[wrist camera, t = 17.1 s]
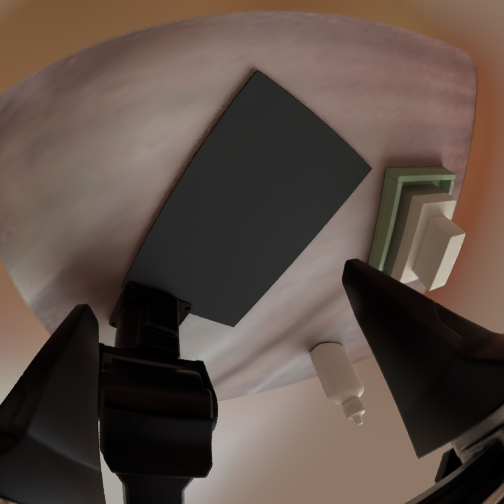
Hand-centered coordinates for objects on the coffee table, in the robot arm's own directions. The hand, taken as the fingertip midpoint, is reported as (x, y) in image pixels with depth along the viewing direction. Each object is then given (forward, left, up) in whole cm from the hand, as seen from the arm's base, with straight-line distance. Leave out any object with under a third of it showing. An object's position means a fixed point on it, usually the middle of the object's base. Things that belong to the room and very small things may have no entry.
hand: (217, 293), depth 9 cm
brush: (+7, -20, -12) cm, 24 cm away
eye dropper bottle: (-12, -27, -12) cm, 32 cm away
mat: (-2, -5, -12) cm, 13 cm away
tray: (+7, -20, -12) cm, 24 cm away
